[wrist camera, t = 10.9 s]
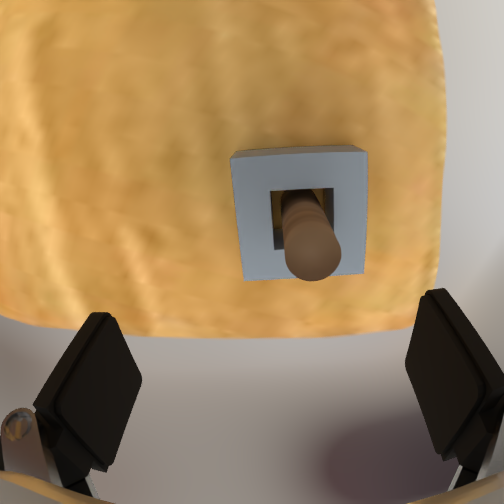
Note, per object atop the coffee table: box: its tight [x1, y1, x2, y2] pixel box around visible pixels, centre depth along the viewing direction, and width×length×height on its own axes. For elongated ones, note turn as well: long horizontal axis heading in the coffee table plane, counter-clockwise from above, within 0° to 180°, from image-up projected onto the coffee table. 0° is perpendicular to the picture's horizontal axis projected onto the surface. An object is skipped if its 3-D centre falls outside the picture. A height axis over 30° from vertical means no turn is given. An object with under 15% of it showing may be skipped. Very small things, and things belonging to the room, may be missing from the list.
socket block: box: [230, 145, 368, 281], centre depth 28 cm, size 11×11×5 cm
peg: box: [280, 189, 342, 281], centre depth 25 cm, size 4×4×12 cm
